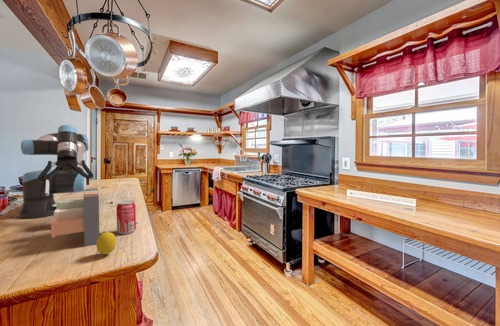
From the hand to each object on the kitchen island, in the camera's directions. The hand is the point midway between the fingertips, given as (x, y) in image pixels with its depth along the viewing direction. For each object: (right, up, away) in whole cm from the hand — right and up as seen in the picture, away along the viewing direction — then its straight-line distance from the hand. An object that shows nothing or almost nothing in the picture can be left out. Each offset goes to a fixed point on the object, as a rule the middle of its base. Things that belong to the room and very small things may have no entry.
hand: (67, 192), depth 102 cm
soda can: (+30, -16, -6) cm, 35 cm away
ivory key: (+16, -9, -15) cm, 23 cm away
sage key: (+12, -7, -9) cm, 16 cm away
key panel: (+19, -16, -11) cm, 28 cm away
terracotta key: (+20, -12, -20) cm, 30 cm away
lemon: (+35, -17, -27) cm, 48 cm away
